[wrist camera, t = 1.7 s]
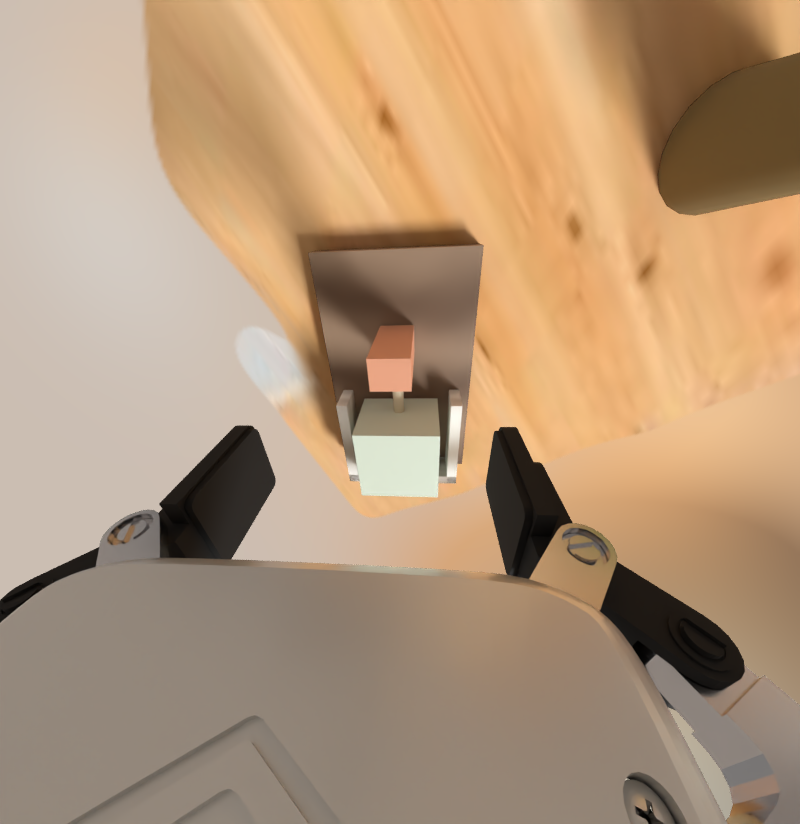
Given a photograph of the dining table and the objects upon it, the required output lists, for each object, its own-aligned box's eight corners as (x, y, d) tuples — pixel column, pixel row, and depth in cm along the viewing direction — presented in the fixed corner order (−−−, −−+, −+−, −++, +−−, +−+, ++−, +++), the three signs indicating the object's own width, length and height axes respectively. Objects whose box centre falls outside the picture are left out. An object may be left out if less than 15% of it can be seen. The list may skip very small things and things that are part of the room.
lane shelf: (315, 250, 20) (293, 256, 16) (479, 243, 19) (491, 248, 16) (351, 451, 30) (341, 480, 26) (460, 453, 29) (464, 483, 25)
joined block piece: (355, 326, 21) (333, 359, 16) (439, 324, 20) (445, 358, 15) (371, 453, 27) (359, 505, 22) (435, 454, 27) (438, 507, 22)
